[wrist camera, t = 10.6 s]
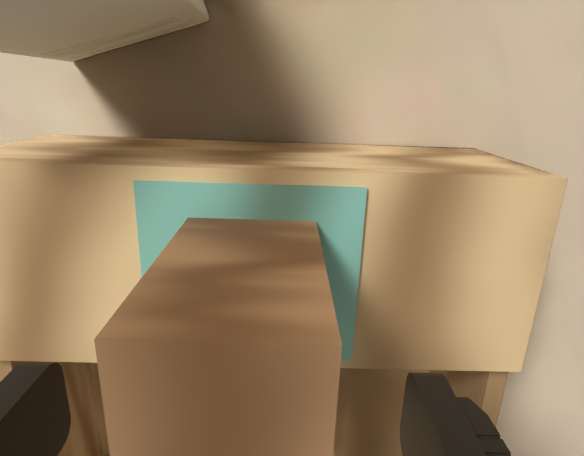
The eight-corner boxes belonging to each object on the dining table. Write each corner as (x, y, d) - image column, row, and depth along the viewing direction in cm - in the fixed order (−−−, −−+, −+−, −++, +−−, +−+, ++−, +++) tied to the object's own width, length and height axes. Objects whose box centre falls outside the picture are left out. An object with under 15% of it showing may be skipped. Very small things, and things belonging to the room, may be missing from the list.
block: (316, 221, 15) (342, 345, 8) (310, 332, 16) (327, 522, 9) (188, 217, 15) (94, 339, 8) (193, 329, 16) (118, 519, 9)
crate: (473, 148, 22) (571, 180, 14) (421, 458, 29) (469, 592, 21) (49, 134, 22) (-80, 160, 14) (96, 452, 28) (26, 586, 21)
